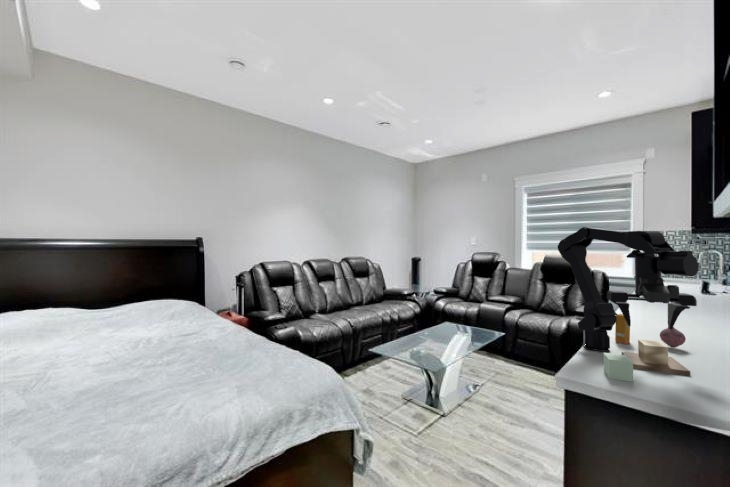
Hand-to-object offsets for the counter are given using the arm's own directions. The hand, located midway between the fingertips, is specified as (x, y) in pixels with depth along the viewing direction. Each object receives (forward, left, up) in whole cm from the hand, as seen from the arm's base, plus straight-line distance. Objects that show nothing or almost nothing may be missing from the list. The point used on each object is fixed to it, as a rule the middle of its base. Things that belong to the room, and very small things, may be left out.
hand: (649, 327), depth 91 cm
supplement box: (-1, +24, -11) cm, 27 cm away
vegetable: (+12, +23, -11) cm, 29 cm away
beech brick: (+1, +1, -10) cm, 10 cm away
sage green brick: (-10, -13, -11) cm, 20 cm away
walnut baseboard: (+1, +1, -11) cm, 11 cm away
